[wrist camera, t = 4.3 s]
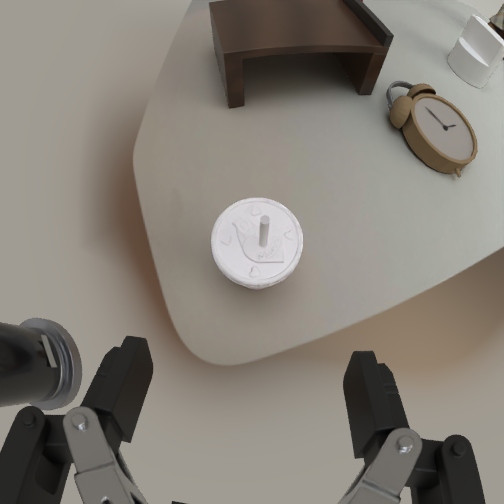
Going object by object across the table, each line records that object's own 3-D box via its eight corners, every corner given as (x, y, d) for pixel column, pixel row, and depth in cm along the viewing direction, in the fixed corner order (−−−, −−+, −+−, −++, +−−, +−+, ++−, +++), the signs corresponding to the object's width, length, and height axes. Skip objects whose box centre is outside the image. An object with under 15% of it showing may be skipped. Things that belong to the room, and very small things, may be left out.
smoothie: (257, 317, 29) (260, 296, 16) (209, 272, 30) (175, 216, 17) (302, 269, 30) (338, 211, 17) (254, 227, 32) (254, 145, 18)
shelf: (228, 108, 36) (221, 39, 26) (214, 49, 40) (207, -9, 30) (370, 94, 37) (394, 35, 27) (335, 39, 41) (346, -13, 31)
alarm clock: (461, 181, 30) (379, 86, 31) (438, 193, 35) (363, 107, 36) (487, 142, 32) (418, 61, 33) (467, 154, 37) (403, 80, 38)
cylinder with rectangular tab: (439, 54, 42) (461, 11, 30) (465, 57, 43) (487, 19, 31) (467, 87, 39) (495, 43, 28) (491, 88, 40) (518, 50, 29)
